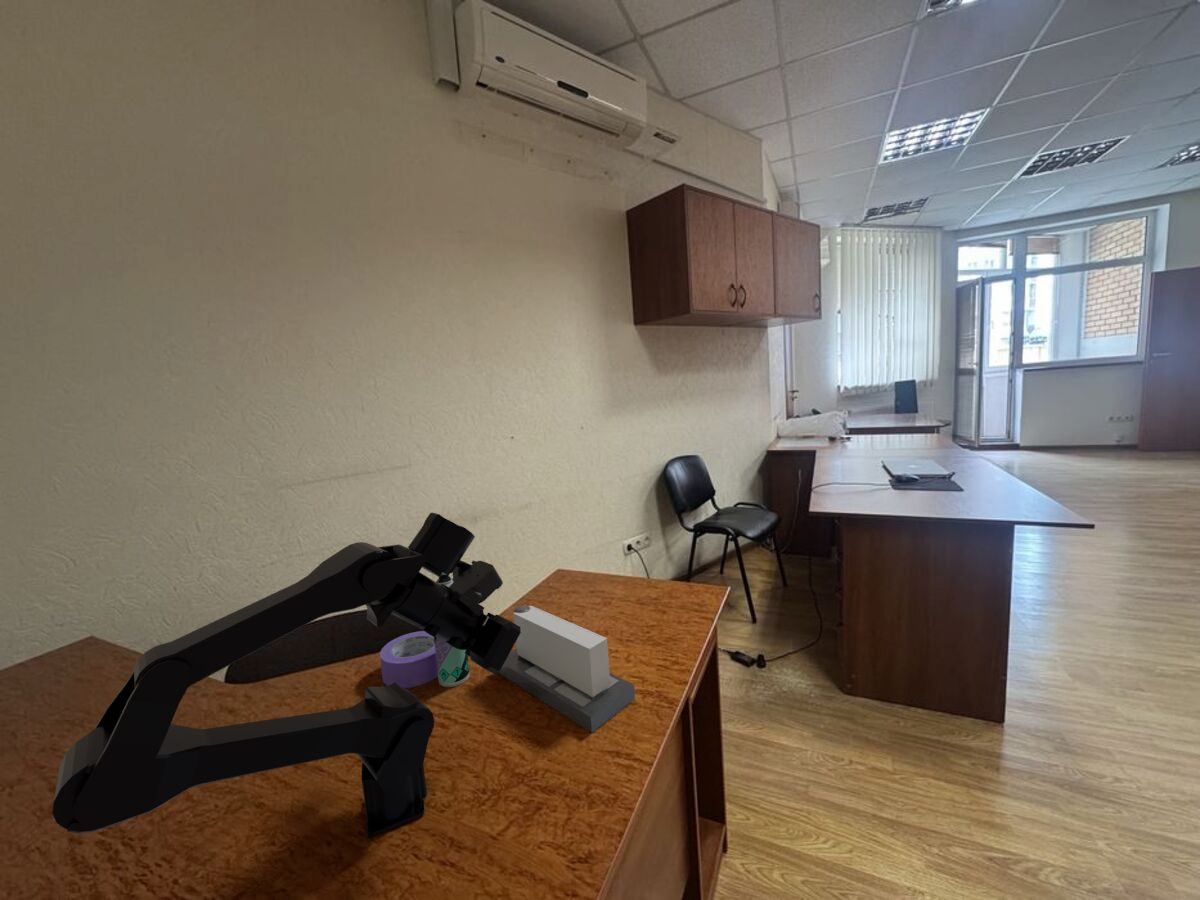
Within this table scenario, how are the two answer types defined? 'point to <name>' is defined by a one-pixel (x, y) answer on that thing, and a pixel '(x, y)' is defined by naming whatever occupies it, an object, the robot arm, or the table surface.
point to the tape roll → (409, 660)
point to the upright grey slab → (563, 649)
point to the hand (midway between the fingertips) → (505, 648)
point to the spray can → (450, 655)
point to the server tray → (569, 693)
